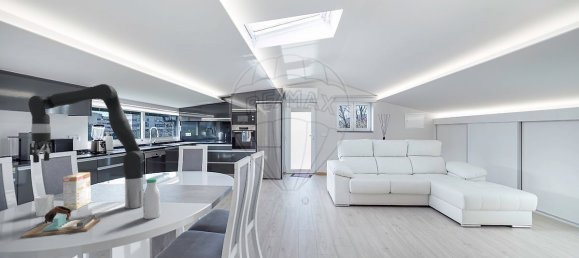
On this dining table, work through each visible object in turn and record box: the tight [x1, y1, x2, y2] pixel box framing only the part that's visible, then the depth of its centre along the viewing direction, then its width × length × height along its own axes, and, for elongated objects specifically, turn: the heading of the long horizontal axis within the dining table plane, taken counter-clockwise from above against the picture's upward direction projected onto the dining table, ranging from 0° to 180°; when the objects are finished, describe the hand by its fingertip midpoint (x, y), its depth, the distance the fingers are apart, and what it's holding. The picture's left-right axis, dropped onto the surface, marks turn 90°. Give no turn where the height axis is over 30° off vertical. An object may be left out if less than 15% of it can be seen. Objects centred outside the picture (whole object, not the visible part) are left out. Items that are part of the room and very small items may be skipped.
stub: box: [43, 214, 69, 231], centre depth 116 cm, size 5×9×5 cm, turn 16°
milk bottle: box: [142, 177, 161, 220], centre depth 132 cm, size 8×8×20 cm
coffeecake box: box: [62, 171, 92, 211], centre depth 153 cm, size 15×7×20 cm, turn 12°
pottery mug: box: [44, 205, 73, 224], centre depth 127 cm, size 12×10×8 cm
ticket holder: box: [20, 213, 101, 239], centre depth 117 cm, size 24×13×4 cm, turn 106°
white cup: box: [33, 193, 55, 217], centre depth 138 cm, size 8×8×10 cm
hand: (41, 161), depth 138 cm, fingers open, 8 cm apart
